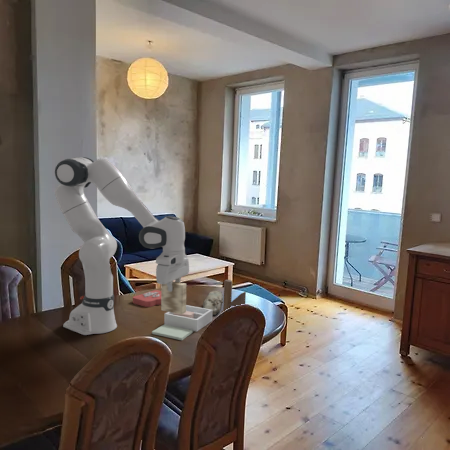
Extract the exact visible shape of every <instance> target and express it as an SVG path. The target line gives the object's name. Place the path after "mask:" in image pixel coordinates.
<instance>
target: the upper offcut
mask: <svg viewBox="0 0 450 450" xmlns="http://www.w3.org/2000/svg"><path fill="white" fill-rule="evenodd" d="M174 315H178V316H183V317H188V318H193V319H194V312H189V311H186V312H185V313H184V314H178V313H174Z"/></svg>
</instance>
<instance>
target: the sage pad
mask: <svg viewBox="0 0 450 450" xmlns="http://www.w3.org/2000/svg"><path fill="white" fill-rule="evenodd" d="M193 332H194V331H193V330H188V329H183V328H178V327H174V326H169V325H164V324H163V325H161V326H159V327H157V328H156V329H154V330H152V331H151V334H152V335H156V336H161V337H165V338H170V339H174V340H179V341H183V340H185V339H186V338H187V337H188V336H190V335H192V334H193Z"/></svg>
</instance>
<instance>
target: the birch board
mask: <svg viewBox="0 0 450 450" xmlns="http://www.w3.org/2000/svg"><path fill="white" fill-rule="evenodd" d="M160 285H161V286H160V287H161V290H160V291H161V305H160V308H161V309H160V310H161V311H163V312H166V313H167V312H173V313H178V314H184V313H185V312H186V305H187V283H185V282H180V283H179V282H175V281H173V283H172V287H174V290H173V291H171V292H170V291H168V286H167V284H160Z"/></svg>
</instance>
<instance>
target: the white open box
mask: <svg viewBox="0 0 450 450" xmlns="http://www.w3.org/2000/svg"><path fill="white" fill-rule="evenodd" d="M186 311H189V312H194V319H193V318H188V317H183V316H178V315H174V313H173V312H167V311H166V312H164V324H163V325H169V326H174V327H178V328H183V329H188V330H193V332H198V331H200V330H202V328H204V327H205V326H207V325H208V324H209V323H211V322H212V321H213V316H214V315H213V310H211V309H205V308H203V307H199V306H193V305H188V304H186Z"/></svg>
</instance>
